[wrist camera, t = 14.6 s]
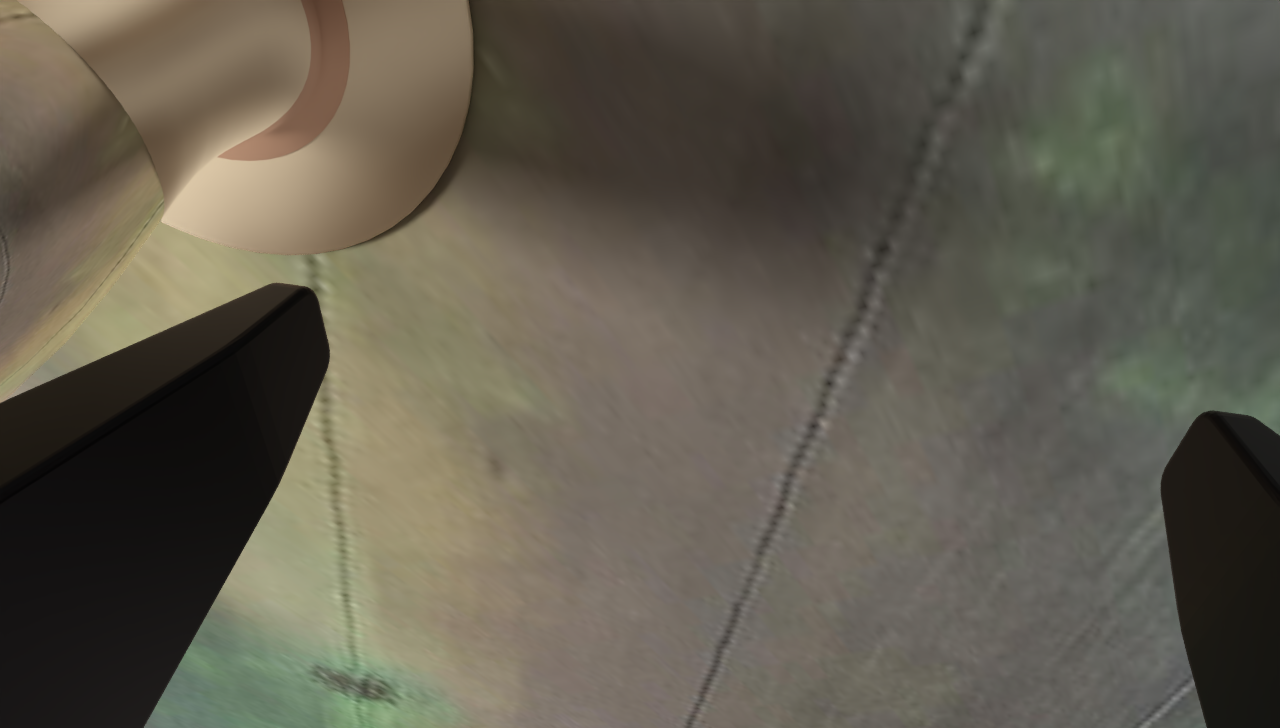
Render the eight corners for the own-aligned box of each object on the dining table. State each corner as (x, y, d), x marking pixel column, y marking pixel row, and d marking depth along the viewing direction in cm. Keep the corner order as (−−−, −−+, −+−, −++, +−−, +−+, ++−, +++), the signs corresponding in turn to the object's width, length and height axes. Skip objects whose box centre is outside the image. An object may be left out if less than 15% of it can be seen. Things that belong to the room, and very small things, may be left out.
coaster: (592, 44, 20) (589, 50, 20) (286, 325, 28) (280, 332, 27) (35, -592, 15) (20, -596, 15) (-161, -34, 22) (-174, -31, 22)
